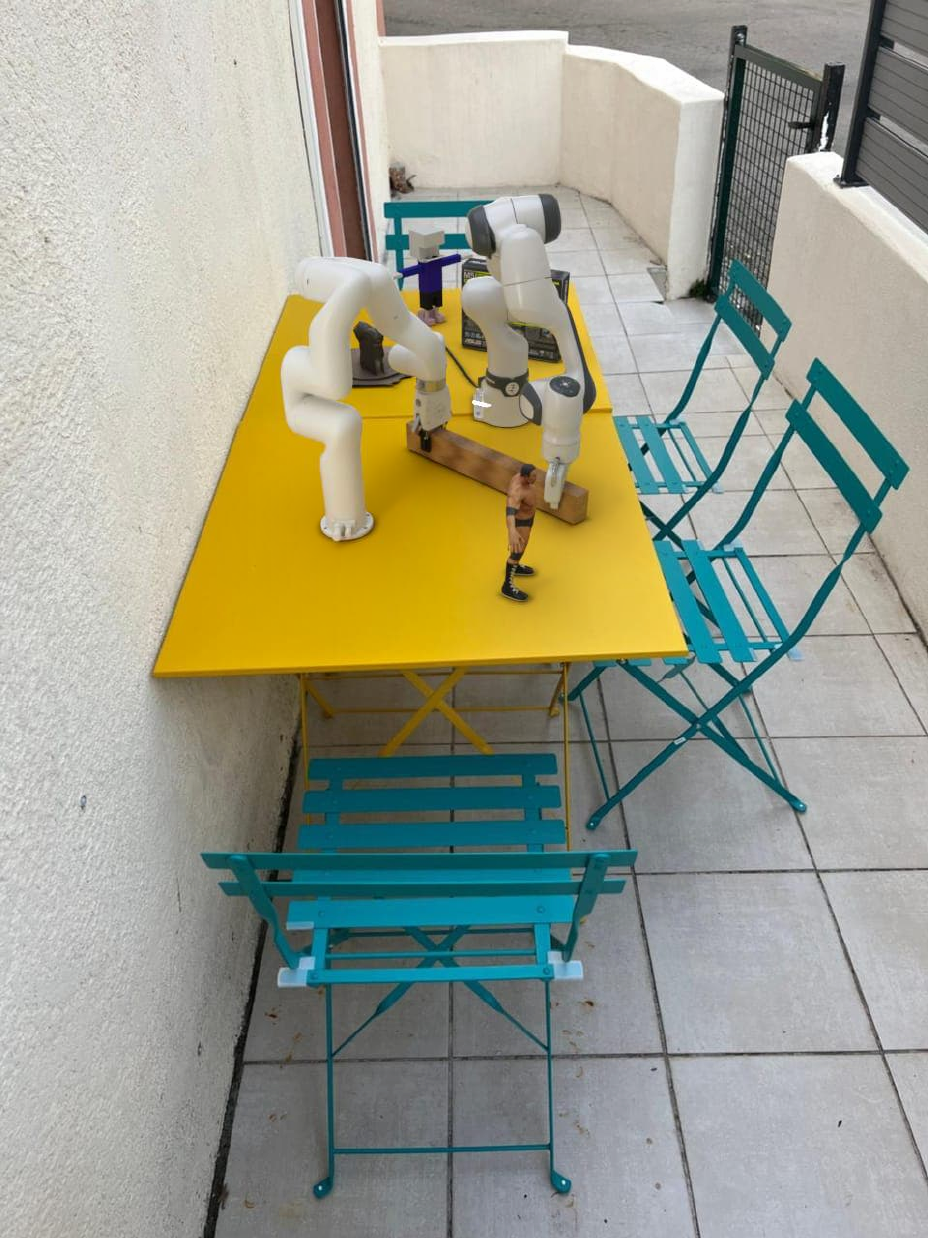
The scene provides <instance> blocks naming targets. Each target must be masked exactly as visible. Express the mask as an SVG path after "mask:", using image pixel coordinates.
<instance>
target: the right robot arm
mask: <svg viewBox="0 0 928 1238" xmlns="http://www.w3.org/2000/svg"><path fill="white" fill-rule="evenodd" d="M562 227H563V211H562V209H561V206H560V203H559V202H558V199H557V198H556V196H554V195H553V194H552V193H540V192H539V193H537V194H535V195H534V194H533V195H532V194H531V195H521V196H509V195H508V196H507V195H506V196H502V197H499V198H497V199H495V200H494V201H493V202H491V203H487V204H485V205H483V204H480V205H478V206H475V207H473V208H471V209H469V211H468V213H467V214H466V220H465V224H464V234H465V239H466V242H467V244H468V246H469V247H470V249H471V252H473V253H474V254H476V255H477V256H481V257H485V260H486V265H487V269H488V271H489V273H490V274H491V276H492V277H491V276H485V277H478V278H473V279H469V280H468V281H467V282H466V283H465V285H464V287H463V289H462V291H461V290H460V291H461V292H460V305H461V309H462V308H463V310H464V312H465V314H466V315H467V316H468V317H470V318H471V319H472V320H473V321H474V322H475V323H476V324H477V325H478V326H479V328H480V329H481V331H482V332H483V334H484V337H485V339H486V344H487V351H486V353H487V367H486V369H485V374H484V375H483V376H479V377H477V385H476V384H475V382H474V381H473V380H472V379H471V377H470V376H469V375H468V373H467V372H466V370H465V369H464V367H463V366H462V365H461V363H460V362H459V361H458V359H457V358H456V357H455V355H454V354H453V352H452V351H451V350H450V349H449V348H448V346H446V351H447V353H448V354H449V356H450V357H451V358H452V359H453V361H454V362H455V363H456V365H458V368H459V369H460V370H461V372H462V373H463V375H464V377H465V378H466V379H467V380H468V381H469V383H471V385H472V386H473V387H475V393H473V396H472V399H473V400H472V404H473V419H474V420H475V421H478V422H484V423H486V424H489V425H491V426H496V427H499V428H513V427H519V426H522V425H525V424H526V423H528V422H530V423H532V424H533V425H535V426H536V427H541V428H542V435H541V449H540V450H541V452H540V454H541V455H540V456H541V457H542V458H543V459H544V460H546V463H547V464H548V468H547V471H546V472H547V474H546V481H545V491H544V501H545V502H548V503H550V507H551V508H552V509H557V508H558V505H559V502H560V498H561V495H562V492H563V489H564V485H565V482H566V481H567V479H568V476H569V473H570V469H571V466H572V464H573V463H574V462H576V460H578V459H579V457H580V453H581V451H580V449H581V438H582V435H581V425H582V422H583V417H584V415H586V414H587V413H588V412H589V411H590V410H591V409H592V407H593V405H594V403H595V402H596V400H597V387H596V383H595V380H594V379H593V376H592V374H591V372H590V370H589V367H588V363H587V361H586V357H585V354H584V349H583V347H582V342H581V339H580V335H579V332H578V329H577V325H576V322H575V319H574V316H573V313H572V310H571V308H570V306H569V305H568V304H567V303H566V302H564V301H562V300H561V299H560V298H559V295H558V291H557V289H556V287H555V286H554V284H553V283H552V278H547V277H551V271H550V269H551V266H550V261H549V257H548V253H547V249H546V245H547V244H550V243H553V242H554V241H556V240H558V238H559V237H560V235H561V232H562ZM545 278H547V279H545ZM507 322H523V323H526V324H529V325H534V326H538V327H542V328H545V329H547V330H549V331H550V332H551V333H552V334H553V335H554V336H555V338H556V341H557V344H558V347H559V351H560V354H561V358H560V359H561V360H562V361H561V362H562V364H563V368H564V372H563V373H562V374H558V375H552V376H549V377H543V378H538V379H534V380H531V381H530V369H529V367H528V366H529V364H528V363H529V358H528V343H527V340H526V339H525V338H524V336H523V335H522V334H520V333H519V332H517V331H515V330H513V329H512V328H511V327H510V326H509V325H508V323H507Z"/></svg>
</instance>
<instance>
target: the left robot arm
mask: <svg viewBox="0 0 928 1238" xmlns="http://www.w3.org/2000/svg"><path fill="white" fill-rule="evenodd" d="M391 273H392V272H391V271H390V270H389V269H388V268H387V267H386V266H385V265H383V264H381V263H378V262H374V261H369V260H365V259H359V258H355V257H347V256H314V255H313V256H311V255H310V256H307V257H304V258H302V259H301V260H300V261H299V262H298V263H297V265H296V267H295V270H294V272H293V285H294V288H295V290H296V292H297V293H298V294H299V296H300V297H302V298H304V299H306V300H308V301H310V302H311V301H312V302H317V303H319V304H323V306H322V307H321V308H320V309H319V311H318V312H317V313H316V315H315V316H314V317H313V319H312V321H311V323H310V325H309V327H308V328H309V329H308V345H309V346H308V345H295V346H293V347H291V348H290V349H288V350H287V351H286V353H285V355H284V357H283V359H282V362H281V367H280V381H281V390H282V399H283V400H282V401H283V407H284V415H285V420H286V424H287V426H288V428H289V429H290V431H292V432H293V433H294V434H296V435H298V436H301V437H303V438H306V439H311V440H313V441H316V442H318V443H321V444H323V445H324V447H325V448H324V449H323V452H321V454H320V456H319V460H318V461H319V462H318V465H319V472H320V481H321V489H322V495H323V504H324V512H325V514H324V516H322V518H321V520H320V522H319V523H320V530H321V532H322V533H323V534H324V535H325V536H326V537H329V538H331V539H332V540H333V541H335V542H340V541H348V540H354V539H359V538H361V537H364V536H365V535H367V534H369V532H371V531H372V529H373V527H374V517H373V515H372V514H371V513H370V512H369V511H367V507H366V497H365V485H364V476H363V465H362V463H363V462H362V447H361V446H362V435H363V427H364V425H363V424H364V423H363V421H364V420H363V417H362V415H361V413H360V412H359V411H358V409H356V408H355V407H354V406H352V405H350V404H348V403H345V402H342V401H340V400H343V399H346V398H347V397H348V396H349V395H350V393H351V391H352V388H353V385H352V361H351V349H352V346H351V335H352V330H353V327H354V323H355V322H356V319H357V318H358V316H359V314H360V313H361V311H362V310H363V309H364V310H365V311H366V313H367V315H368V316H369V318H370V320H371V322H372V324H373V327H374V328H376V329H377V331H378V332H379V333H380V334H382V335H383V336H384V337H385V338H386V339H388V340H389V341H391V342H393V343H395V344H394V345H393V346H391V347H392V349H391V350H390V353H389V356H388V361H389V364H390V366H391V368H392V369H393V370H395V371H397V372H399V373H403V374H406V375H410V376H409V377H415V385H414V389H415V392H414V398H413V419H414V424H413V427H412V429H411V432H413V433H415V434H417V435H418V436H419V437H420V448H421V450H423V451H426V452H428V453H429V452H431V442H430V438H429V432H430V430H432V429H434V428H436V427H438V426H440V427H442V428H445V429H447V425H448V423H449V421H450V420H451V419H452V416H453V411H452V398H451V392H450V388H449V385H448V383H447V368H448V358H447V353H446V351H447V350H446V347H447V345H446V338H445V336H444V335H443V333H441V332H438V331H433V329H432V328H431V327H430V326H428V325H426V324H425V323H424V322H422V321H421V320H420V319H419V318H418V316H417V315H416V314H415V313H413V312H412V311H411V310H410V309H409V307H408V305H407V303H406V302H405V299H404V298H403V295H402V294H401V291H400V289H399V287H398V285H397V283H396V281H395V280H394V279H393V277H392V275H391ZM338 400H339V401H338ZM423 429H425V433H424V432H423Z"/></svg>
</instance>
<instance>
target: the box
mask: <svg viewBox="0 0 928 1238" xmlns="http://www.w3.org/2000/svg"><path fill="white" fill-rule="evenodd" d="M550 271H551V277H547V278H552V283H553V284H554V286H555V287H556V289H557V291H558V295H559V298H560V299H561V300H562V301H564V302H566V303H567V304H568V303H569V293H570V292H569V290H570V279H571V272H568V271H566V270H561V269H554V268H553V269H552V268H550ZM485 276H491V274H490V273H489V271H488V269H487V265H486V259H481V258H475V257H472V258H468V259H465V260H464V262H463V263H462V264H461V274H460V277H461V281H460V282H461V287H460V288H461V290H460V291H462V289H463V287H464V285H465V283H466V282H467V281H468V280H469V279H473V278H478V277H485ZM491 277H492V276H491ZM547 278H545V279H547ZM507 323H508V325H509V326H510V327H511V328H512V329H513V330H515V331H517V332H519V333H520V334H522V335H523V336H524V338H525V339H526V340H527V343H528V359H531V360H532V359H533V360H538V361H545V362H550V363H557V362H559V360H560V359H562V358H561V354H560V351H559V347H558V344H557V341H556V338H555V336H554V335H553V334H552V333H551V332H550V331H549V330H547V329H545V328H542V327H538V326H534V325H529V324H526V323H523V322H507ZM461 347H463V348H468V349H473V350H479V351H485V352H487V344H486V339H485V337H484V334H483V332H482V331H481V329H480V328H479V326H478V325H477V324H476V323H475V322H474V321H473V320H472V319H471V318H470V317H468V316H467V315H466V314H465V312H464V310H463V308H462V307H461Z"/></svg>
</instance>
